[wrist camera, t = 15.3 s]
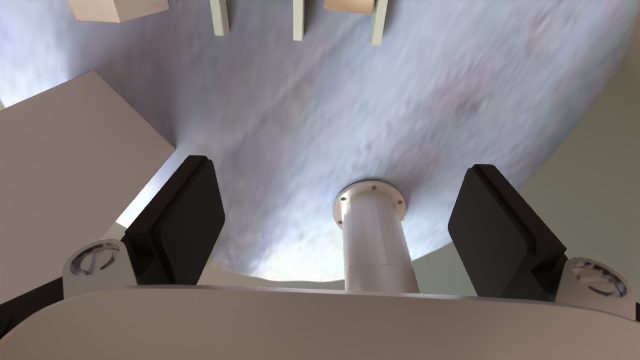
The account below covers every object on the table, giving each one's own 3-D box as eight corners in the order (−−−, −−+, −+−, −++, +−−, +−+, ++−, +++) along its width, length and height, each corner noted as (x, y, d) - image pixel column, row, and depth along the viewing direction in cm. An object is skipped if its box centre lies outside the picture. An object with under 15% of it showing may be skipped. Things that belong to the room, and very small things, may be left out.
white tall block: (69, 90, 40) (-323, 277, 16) (93, 69, 38) (-310, 244, 14) (152, 164, 47) (-34, 372, 23) (175, 149, 45) (-1, 357, 21)
